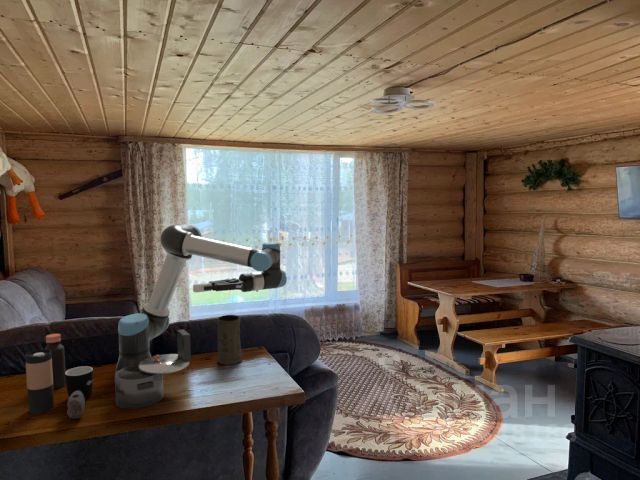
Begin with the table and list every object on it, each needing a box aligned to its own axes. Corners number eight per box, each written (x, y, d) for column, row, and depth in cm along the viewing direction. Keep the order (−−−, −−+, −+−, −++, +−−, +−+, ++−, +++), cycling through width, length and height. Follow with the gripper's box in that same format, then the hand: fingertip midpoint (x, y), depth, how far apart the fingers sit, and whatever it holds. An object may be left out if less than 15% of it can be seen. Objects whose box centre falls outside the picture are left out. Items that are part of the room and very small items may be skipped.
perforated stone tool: (70, 404, 158) (69, 385, 157) (87, 402, 160) (86, 383, 160) (65, 424, 144) (64, 403, 144) (84, 420, 147) (83, 400, 146)
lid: (195, 367, 164) (194, 337, 163) (145, 378, 155) (144, 346, 154) (180, 353, 179) (180, 326, 178) (134, 363, 169) (132, 333, 168)
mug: (89, 402, 160) (87, 374, 159) (62, 404, 158) (60, 376, 157) (100, 388, 171) (99, 362, 171) (75, 389, 170) (73, 363, 169)
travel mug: (36, 404, 158) (32, 349, 156) (58, 404, 158) (55, 348, 157) (23, 415, 150) (20, 357, 148) (47, 414, 151) (44, 356, 149)
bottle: (57, 381, 178) (54, 332, 176) (70, 383, 176) (67, 333, 174) (41, 388, 172) (38, 337, 170) (54, 390, 169) (51, 339, 168)
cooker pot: (170, 403, 159) (169, 375, 158) (121, 415, 150) (120, 386, 149) (155, 384, 175) (154, 359, 174) (111, 394, 166) (109, 367, 165)
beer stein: (239, 365, 195) (238, 320, 193) (214, 365, 195) (213, 320, 193) (245, 353, 210) (245, 311, 208) (223, 353, 210) (222, 311, 208)
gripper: (258, 294, 179) (200, 301, 166) (243, 288, 190) (188, 295, 177) (258, 275, 178) (200, 281, 165) (243, 270, 190) (187, 276, 176)
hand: (194, 288), depth 171 cm, fingers closed
